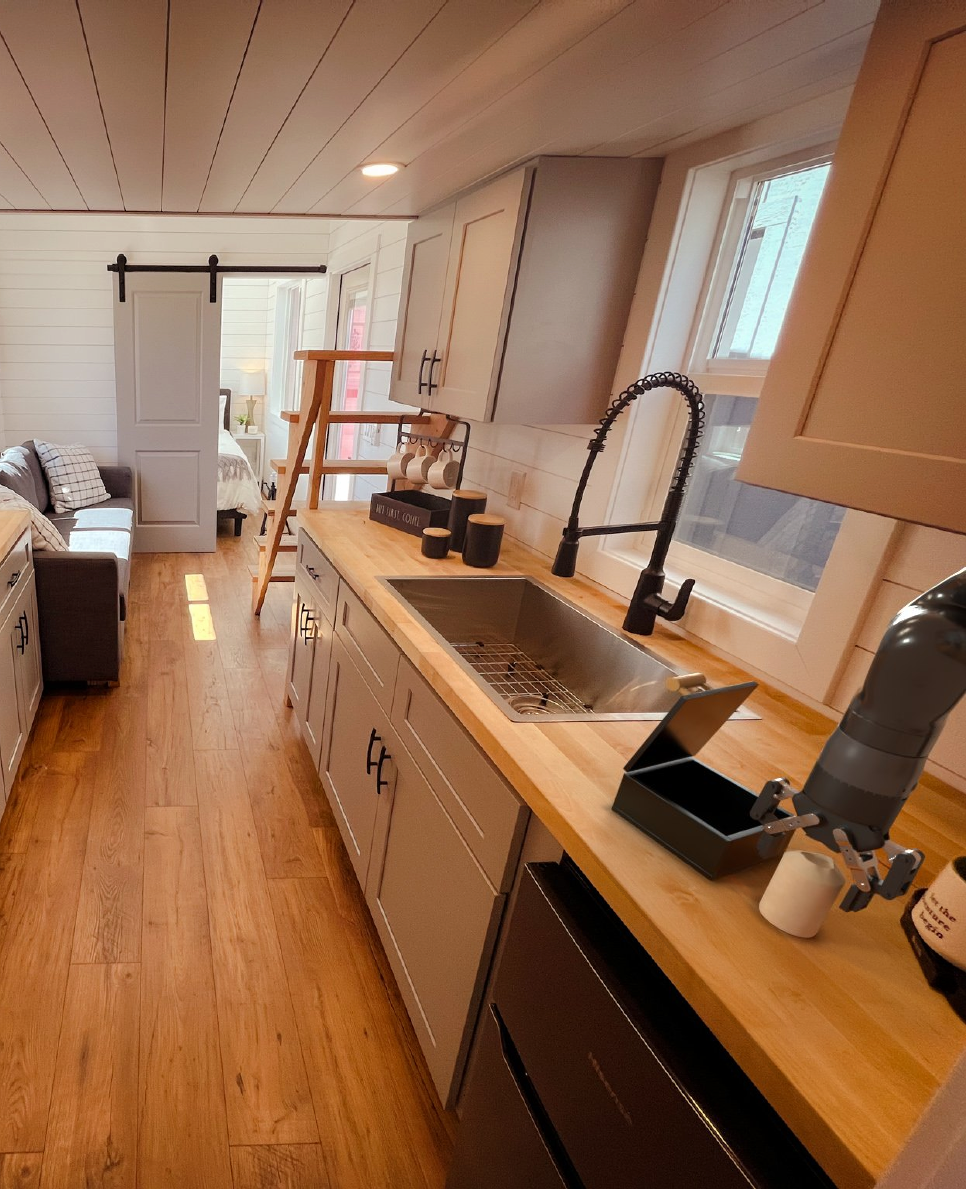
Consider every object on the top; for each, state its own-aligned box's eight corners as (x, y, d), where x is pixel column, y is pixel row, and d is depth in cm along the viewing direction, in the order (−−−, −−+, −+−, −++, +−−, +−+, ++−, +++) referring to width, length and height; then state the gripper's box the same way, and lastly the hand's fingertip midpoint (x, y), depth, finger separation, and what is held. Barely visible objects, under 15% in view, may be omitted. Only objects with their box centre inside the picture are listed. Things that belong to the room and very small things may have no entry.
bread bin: (782, 857, 90) (801, 818, 87) (710, 881, 86) (728, 841, 83) (678, 791, 103) (692, 756, 100) (610, 809, 98) (623, 773, 96)
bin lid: (759, 684, 91) (723, 659, 95) (687, 699, 86) (652, 672, 90) (695, 755, 100) (665, 729, 104) (626, 772, 95) (598, 745, 99)
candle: (786, 900, 83) (817, 840, 79) (829, 937, 78) (864, 875, 74) (746, 902, 82) (776, 841, 79) (787, 939, 77) (820, 876, 74)
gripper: (769, 741, 77) (721, 846, 83) (930, 822, 64) (859, 938, 70) (809, 731, 79) (759, 834, 85) (972, 807, 67) (900, 921, 73)
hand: (804, 881), depth 78 cm, fingers open, 8 cm apart
